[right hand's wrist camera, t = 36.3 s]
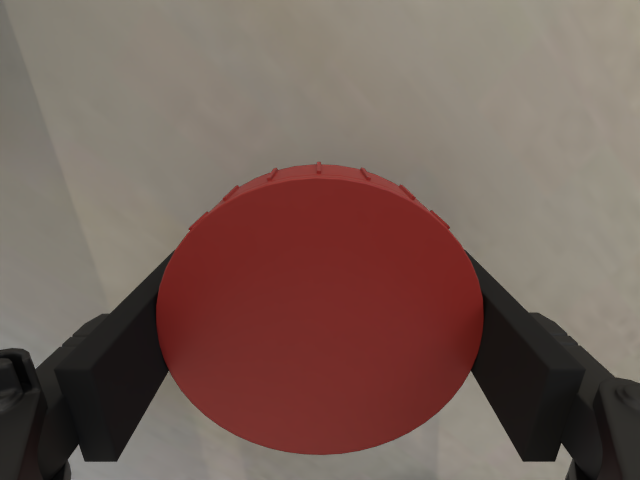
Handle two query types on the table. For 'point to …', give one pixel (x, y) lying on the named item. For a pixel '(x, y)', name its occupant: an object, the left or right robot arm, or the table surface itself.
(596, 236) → the table surface
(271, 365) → the lid
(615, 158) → the table surface
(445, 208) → the table surface
